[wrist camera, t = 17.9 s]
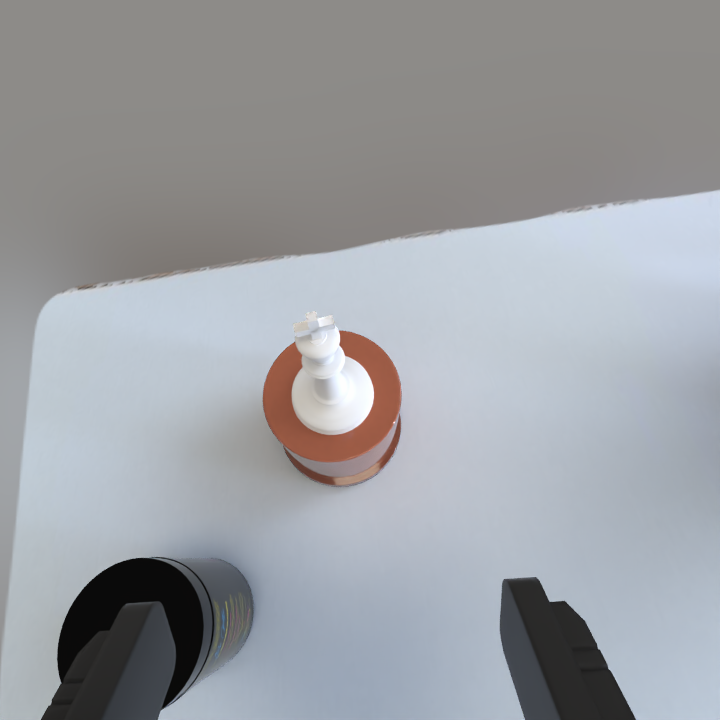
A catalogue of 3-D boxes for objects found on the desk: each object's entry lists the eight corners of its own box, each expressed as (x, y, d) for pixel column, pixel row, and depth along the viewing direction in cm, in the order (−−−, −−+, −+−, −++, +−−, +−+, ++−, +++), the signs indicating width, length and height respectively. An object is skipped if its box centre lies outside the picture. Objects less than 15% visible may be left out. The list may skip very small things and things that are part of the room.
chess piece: (285, 367, 29) (243, 279, 20) (362, 349, 29) (356, 254, 20) (300, 444, 27) (261, 386, 18) (382, 424, 28) (386, 356, 18)
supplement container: (248, 545, 33) (195, 541, 23) (265, 655, 30) (212, 702, 21) (151, 571, 32) (56, 577, 23) (160, 685, 30) (56, 747, 20)
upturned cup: (343, 349, 38) (335, 299, 31) (425, 427, 36) (437, 393, 28) (257, 425, 36) (227, 391, 29) (337, 514, 33) (326, 501, 26)
